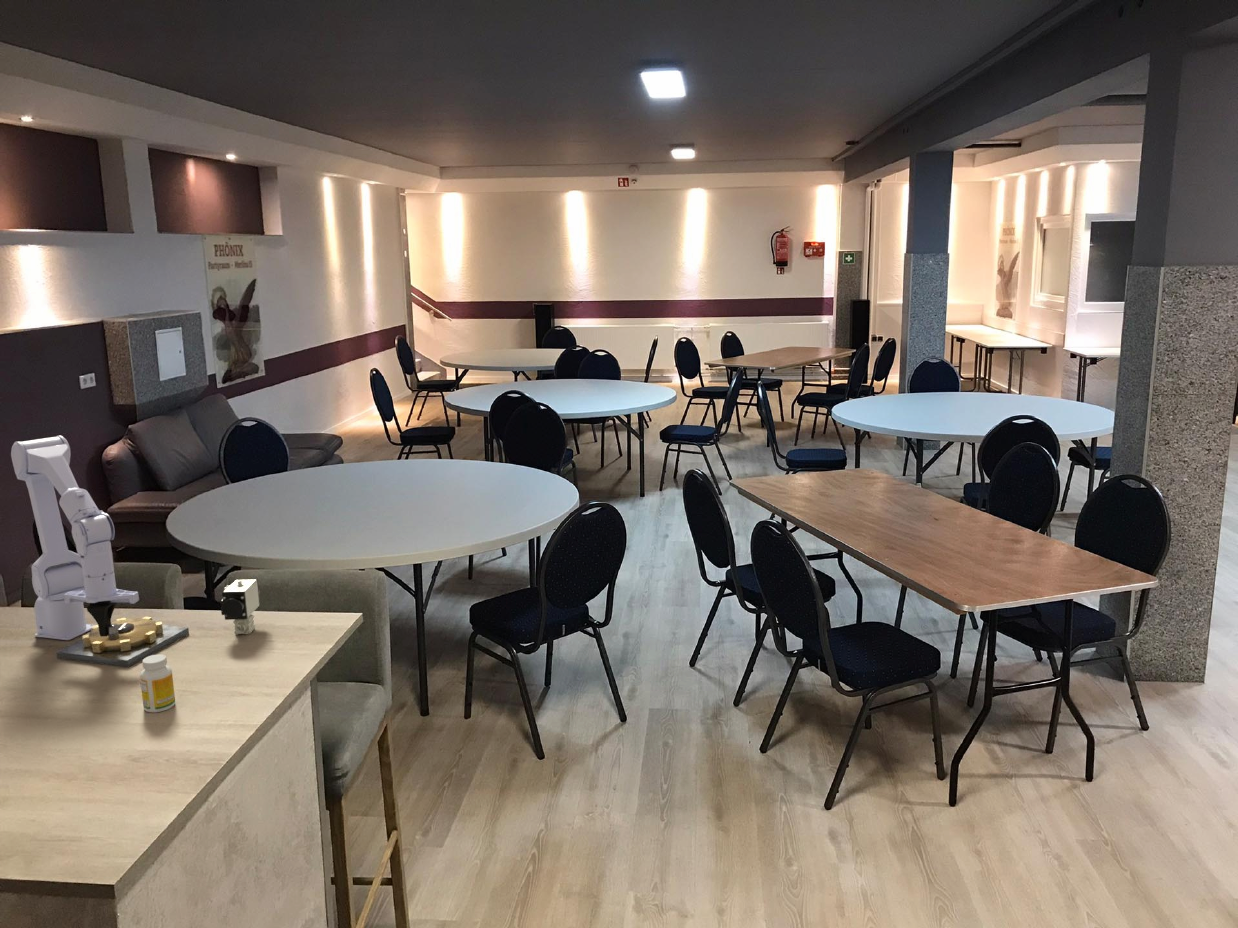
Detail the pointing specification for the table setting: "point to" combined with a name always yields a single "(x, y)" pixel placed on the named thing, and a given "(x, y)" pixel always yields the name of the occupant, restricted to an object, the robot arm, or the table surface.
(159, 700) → the supplement bottle
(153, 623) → the blocky toothed spur gear
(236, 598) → the pneumatic valve
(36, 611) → the robot arm
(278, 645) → the table surface
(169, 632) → the cap plate
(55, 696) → the table surface
